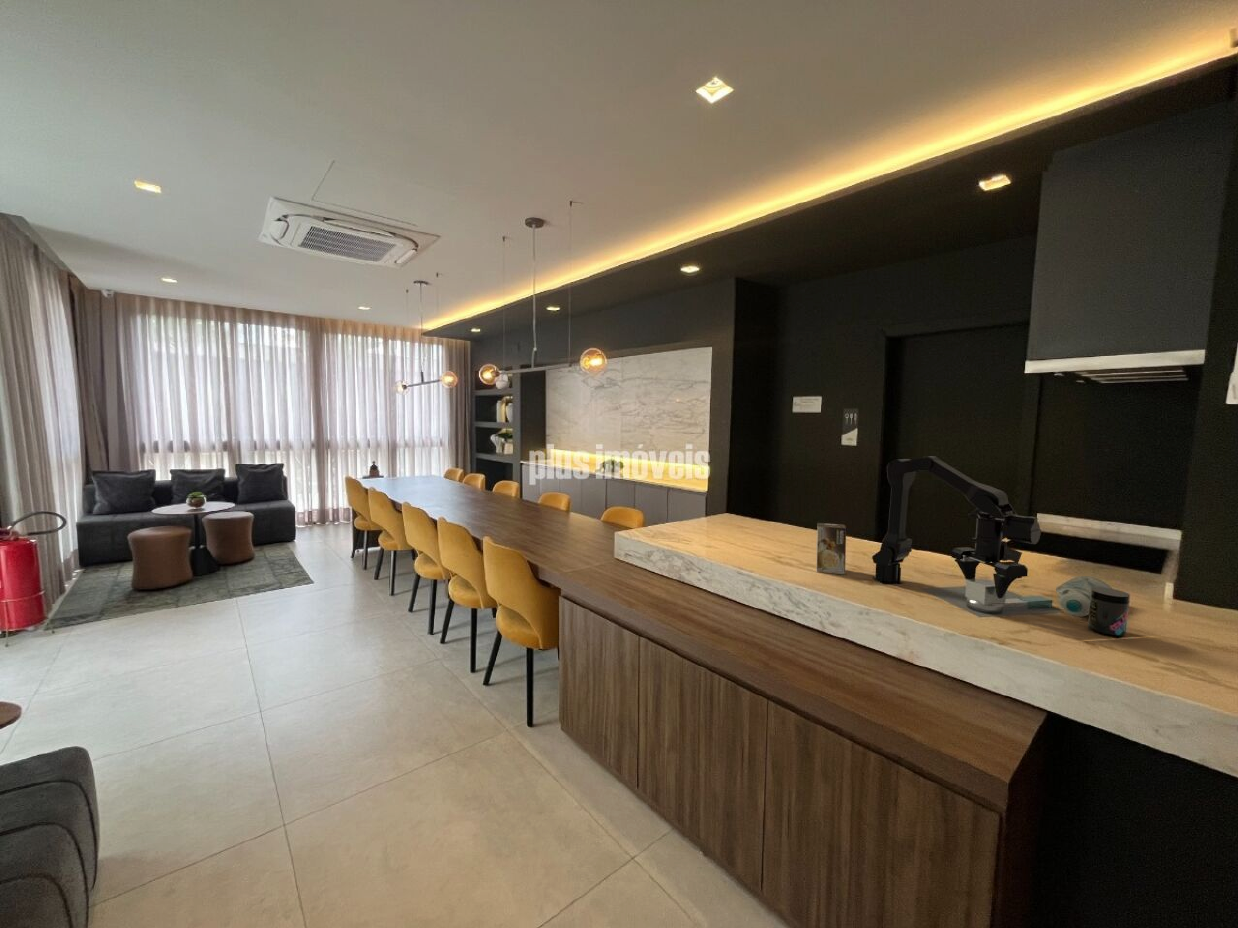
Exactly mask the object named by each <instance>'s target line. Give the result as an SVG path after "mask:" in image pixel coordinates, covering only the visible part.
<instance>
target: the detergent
mask: <svg viewBox="0 0 1238 928" xmlns="http://www.w3.org/2000/svg"><path fill="white" fill-rule="evenodd" d="M1093 587H1104V588H1111V589H1114V588H1113V587H1111V586H1110V585H1109V584H1107V583H1106V582H1104V581H1102V580H1100V579H1098V578H1095V577H1093V576H1092V577H1091V576H1083V575H1082V576H1077V577H1074V578H1071V579H1068V580H1067V581H1065V582H1063V583H1062V584H1060V585H1059V586H1056V588H1055V590H1056V591H1055V592H1056V594H1057V596H1058V599H1057V602H1058V604H1059V606H1061V608H1063V610H1064V611H1065V612H1066V613H1067V614H1069V615H1071V616H1073V617H1078V618H1083V617H1085V616H1089V609H1090V597H1091V595H1090V594H1091V588H1093Z"/></svg>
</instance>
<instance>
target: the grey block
mask: <svg viewBox="0 0 1238 928" xmlns="http://www.w3.org/2000/svg"><path fill="white" fill-rule="evenodd" d="M965 586H966V594H965V597H967V598H970V599H972V600H974V601H977V602H979V603H981V604H983V605H991V604H1005V598H1006V593H1005V594H1004V596H1003V598H998V597H997V594H996V588H995V582H994V579H993V580H992V579H990V578H986V577H983V578H975V579H965Z"/></svg>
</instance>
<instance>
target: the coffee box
mask: <svg viewBox="0 0 1238 928" xmlns="http://www.w3.org/2000/svg"><path fill="white" fill-rule="evenodd" d="M816 525H817V526H816V527H817V533H816V538H817V539H816V573H824V574H825V573H827V574H836V575H838V574H839V575H846V558H847V556H846V551H847V549H846V544H847V527H846V526H847V525H845V524H840V523H829V522H828V523H827V522H825V523H824V522H817V524H816Z"/></svg>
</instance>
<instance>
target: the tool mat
mask: <svg viewBox="0 0 1238 928" xmlns="http://www.w3.org/2000/svg"><path fill="white" fill-rule="evenodd" d="M919 590H921V591H923V592H926V593H928V594H929V595H932V596H934V597H935V598H939V599H941V600H943V601H944V602H947V603H948V604H950V605H953V606H956V607H957V608H959V609H962V610H963V611H966V612H968V613H970V614H972V615H973V616H976V617H978V618H989V617H1007V616H1009V617H1010V616H1024V615H1043V614H1060V613H1061V614H1062V613H1064V611H1062V610H1059V609H1056V608H1054V607H1052V608H1035V609H1028V608H1027V609H1009V610H1003V612H1002V613H1001V614H985V613H980V612H977V611H974V610H971V609H969V608H968V607H967V606H966V603H967V597H965V594H966V585H962V586H960V585H958V586H943V587H923V588H922V587H921V588H920V587H919ZM1018 597H1024V596H1023V595H1020V594H1018V593H1015V592H1012V591H1010V590H1008V589H1007V591H1006V598H1005V599H1017V598H1018Z"/></svg>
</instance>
